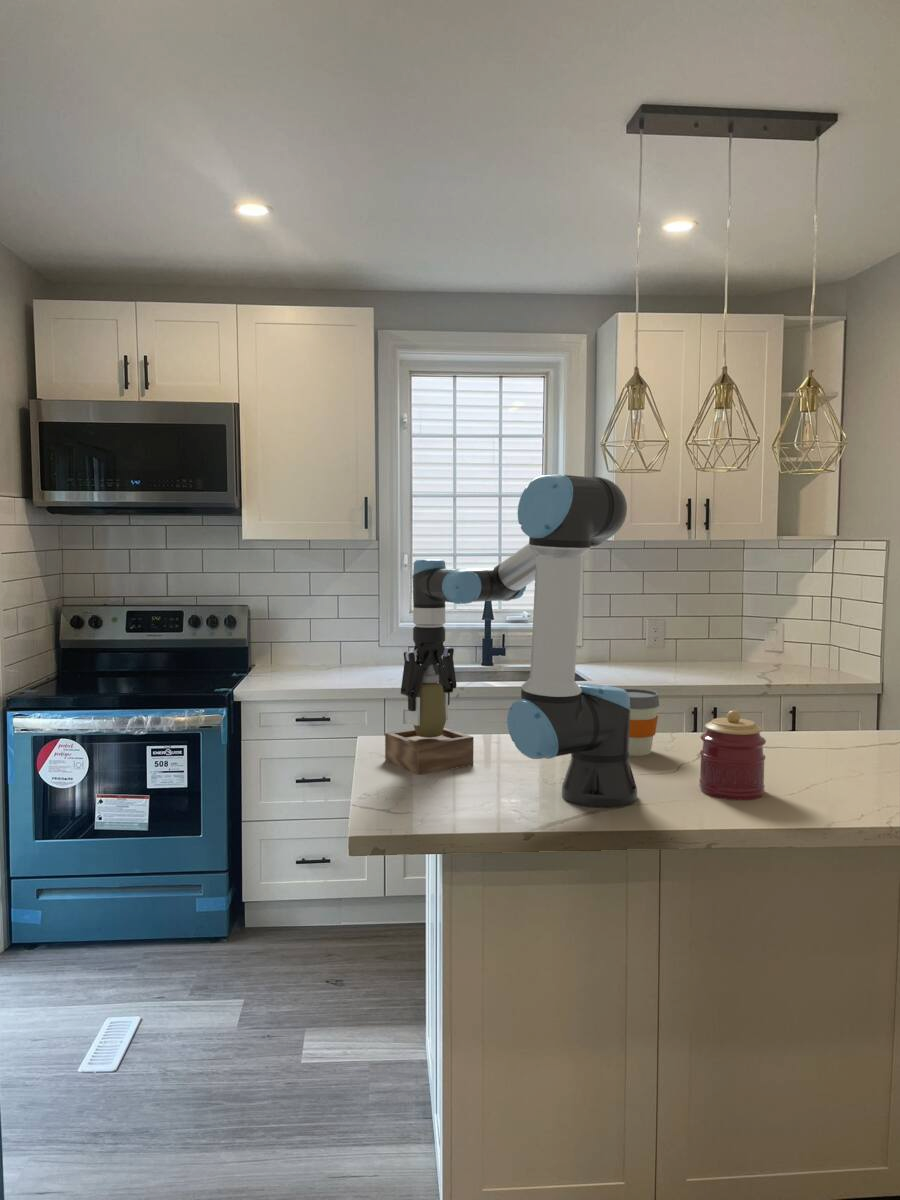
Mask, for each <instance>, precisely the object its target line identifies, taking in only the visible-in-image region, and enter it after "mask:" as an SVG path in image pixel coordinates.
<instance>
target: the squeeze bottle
mask: <svg viewBox="0 0 900 1200" xmlns="http://www.w3.org/2000/svg"><path fill="white" fill-rule="evenodd" d="M438 682H439V675H438V674H435V672H434V669H433V665H430V666H428V668H427V670H425V673H424V676H423V679H422V682H421V685H420V689H419V692H418V695H417V697H420V725H419V726H417V725H413V729H415V731H416V734H417V736H420V737H426V738H432V737H438V736H441V735H442V732H443V729H444V728H445V726H446V723H447V720H446V712H445V702H444V692H443V686H442V685H441V684H440V683H438Z"/></svg>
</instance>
